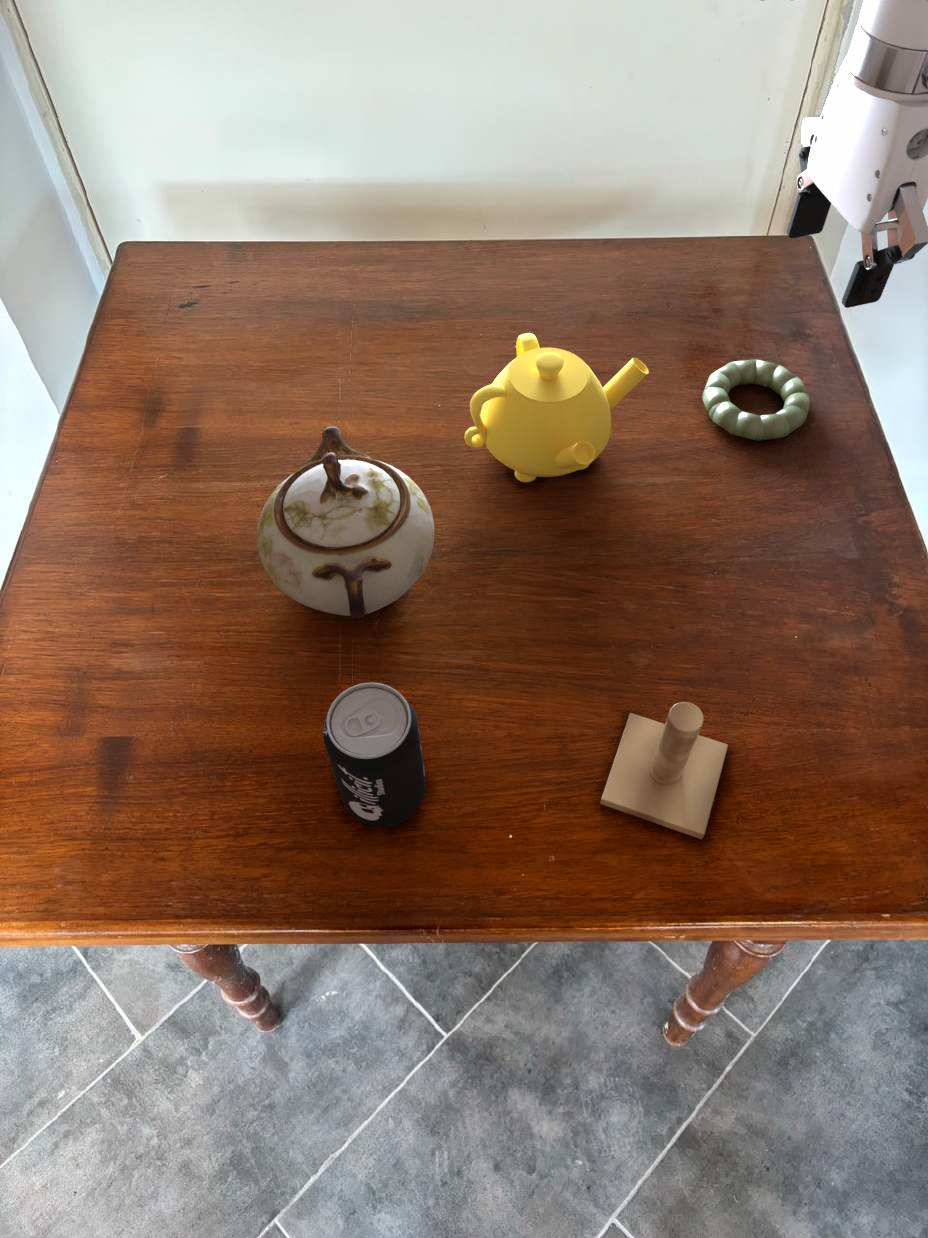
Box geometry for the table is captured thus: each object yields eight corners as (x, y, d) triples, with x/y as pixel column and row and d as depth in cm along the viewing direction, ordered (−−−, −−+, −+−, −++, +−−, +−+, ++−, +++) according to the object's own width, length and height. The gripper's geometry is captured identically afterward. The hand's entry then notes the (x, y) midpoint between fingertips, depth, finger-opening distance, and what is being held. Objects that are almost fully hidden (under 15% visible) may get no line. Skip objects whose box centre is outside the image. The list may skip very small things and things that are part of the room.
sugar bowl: (265, 507, 90) (230, 388, 78) (420, 485, 91) (409, 364, 79) (280, 683, 79) (242, 578, 67) (455, 655, 81) (449, 546, 68)
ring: (813, 386, 98) (820, 368, 96) (794, 455, 93) (801, 438, 91) (714, 363, 100) (719, 345, 98) (690, 429, 95) (695, 411, 93)
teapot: (580, 524, 88) (592, 439, 79) (453, 474, 92) (450, 386, 83) (640, 427, 95) (657, 338, 86) (520, 384, 99) (523, 294, 90)
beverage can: (438, 813, 73) (431, 743, 63) (357, 843, 71) (336, 777, 61) (409, 741, 76) (398, 664, 66) (331, 769, 75) (308, 695, 65)
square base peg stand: (725, 750, 75) (755, 687, 67) (701, 840, 71) (730, 785, 63) (628, 718, 77) (645, 653, 69) (599, 804, 73) (614, 746, 64)
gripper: (1027, 106, 61) (925, 322, 75) (889, -10, 71) (821, 202, 85) (924, 126, 60) (840, 341, 74) (798, 5, 69) (744, 217, 84)
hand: (830, 267), depth 80 cm, fingers open, 9 cm apart
